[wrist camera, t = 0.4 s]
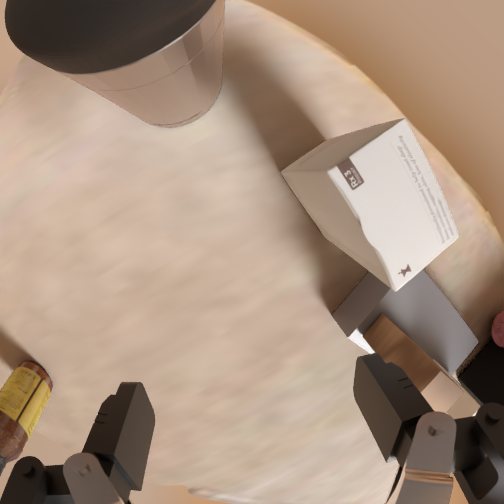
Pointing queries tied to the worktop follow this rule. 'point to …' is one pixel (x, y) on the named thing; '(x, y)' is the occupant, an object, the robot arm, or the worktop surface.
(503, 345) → the vegetable
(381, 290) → the keypad base
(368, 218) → the skincare box
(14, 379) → the sauce bottle
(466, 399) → the wooden block
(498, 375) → the air purifier
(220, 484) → the worktop surface
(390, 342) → the walnut key
